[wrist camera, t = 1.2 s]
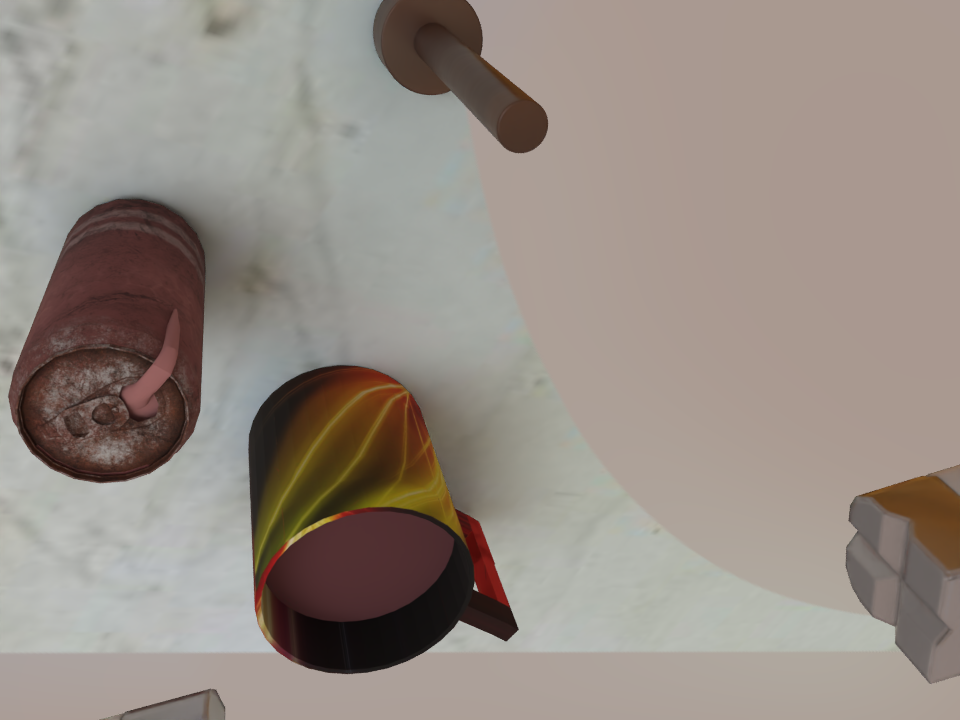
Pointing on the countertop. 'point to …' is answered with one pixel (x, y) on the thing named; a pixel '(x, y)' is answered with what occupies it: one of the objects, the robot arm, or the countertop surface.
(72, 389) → the can
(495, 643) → the countertop surface
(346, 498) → the mug
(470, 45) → the disc-capped wooden dowel
